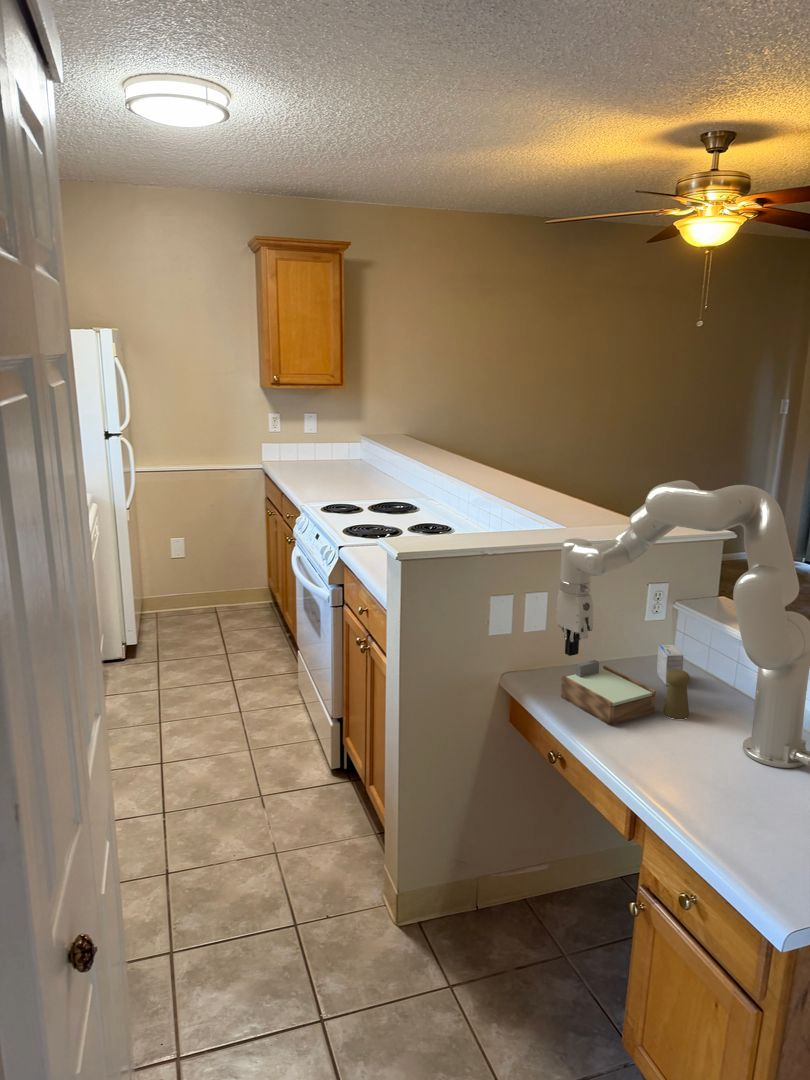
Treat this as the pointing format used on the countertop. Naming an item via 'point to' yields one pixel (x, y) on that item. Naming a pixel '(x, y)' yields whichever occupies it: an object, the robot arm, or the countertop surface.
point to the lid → (607, 683)
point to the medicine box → (668, 661)
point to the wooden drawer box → (607, 701)
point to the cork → (677, 695)
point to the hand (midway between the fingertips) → (571, 653)
